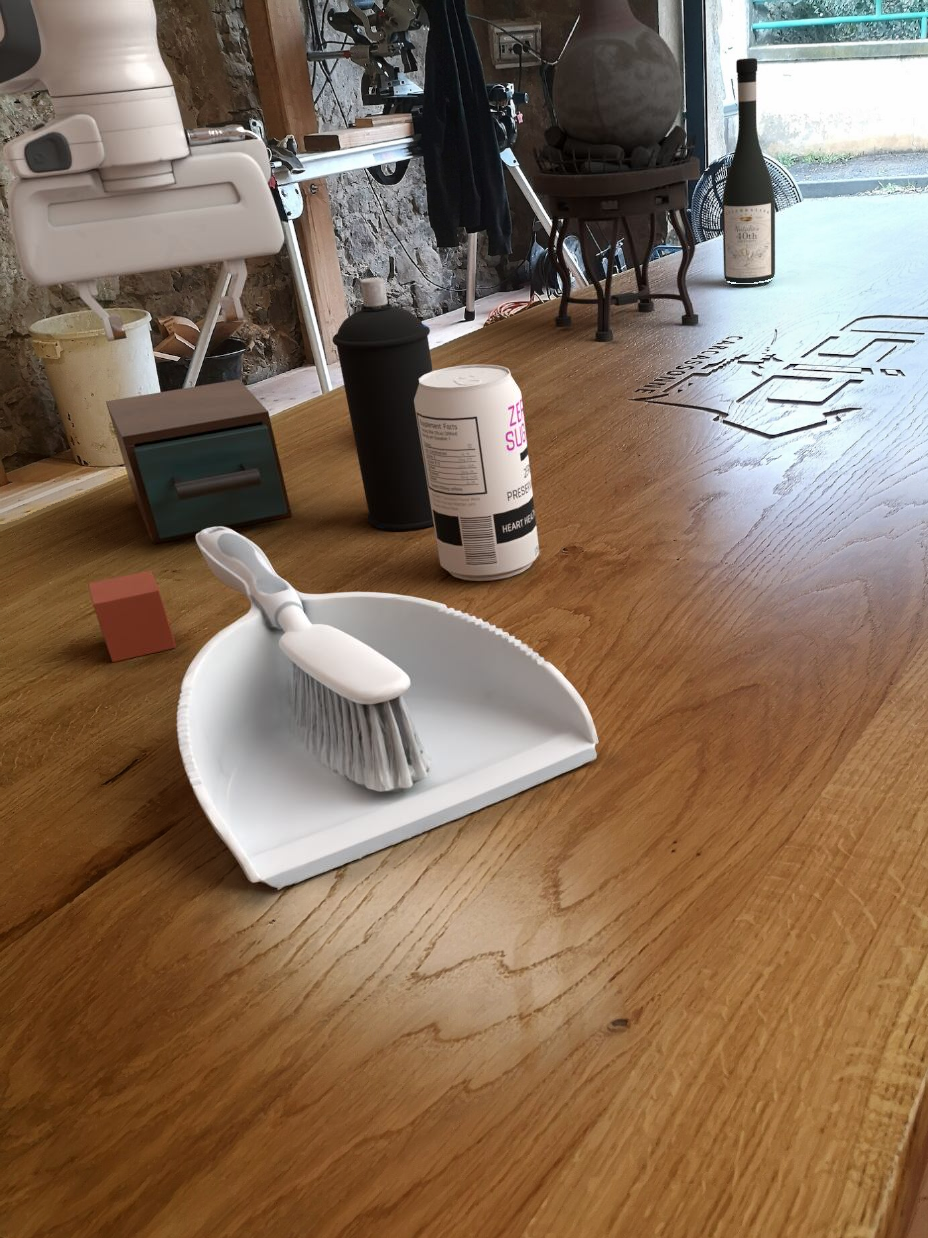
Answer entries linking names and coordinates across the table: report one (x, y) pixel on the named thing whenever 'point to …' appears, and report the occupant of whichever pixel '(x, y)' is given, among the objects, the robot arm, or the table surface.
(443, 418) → the supplement can
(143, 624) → the block
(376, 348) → the aerosol can
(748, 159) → the wine bottle
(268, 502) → the drawer
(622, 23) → the brazier
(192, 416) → the cabinet
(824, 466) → the table surface
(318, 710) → the dustpan and brush
